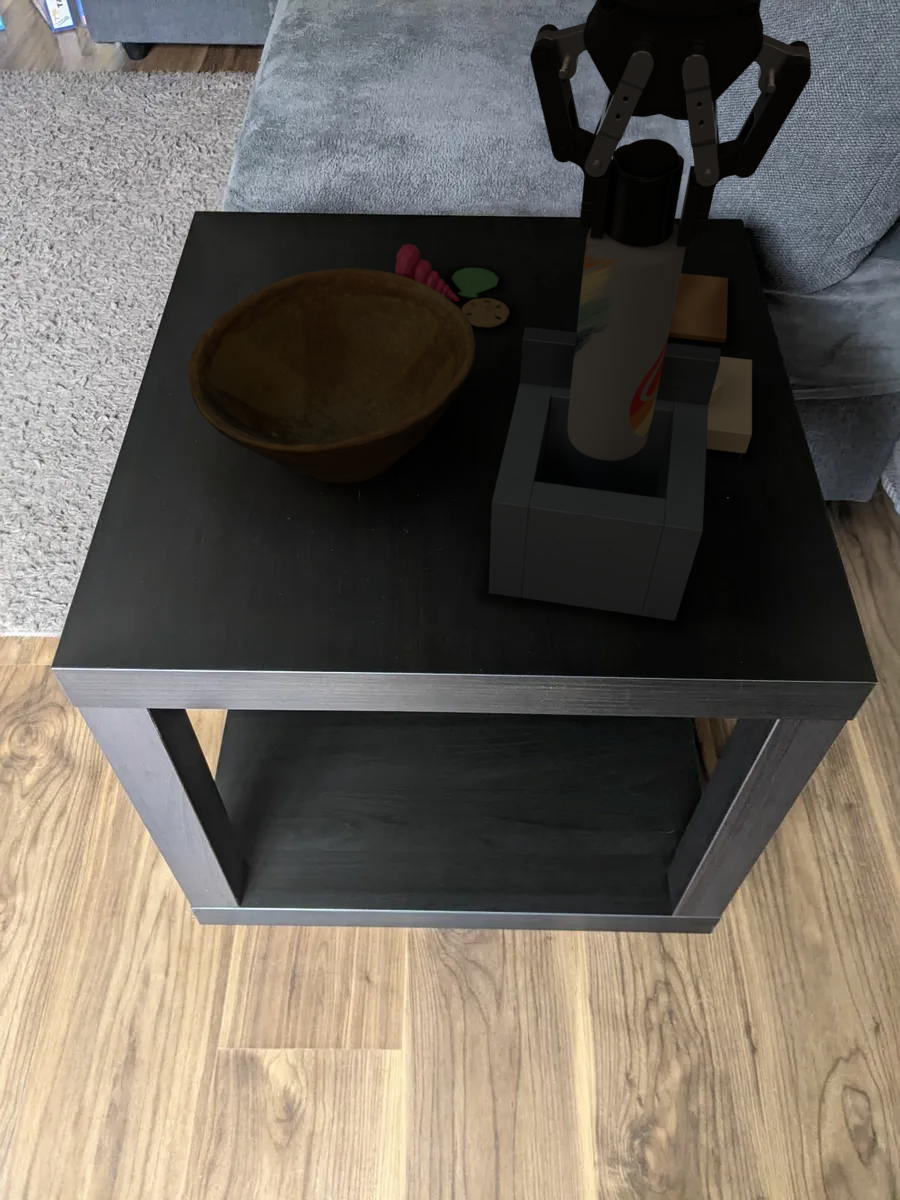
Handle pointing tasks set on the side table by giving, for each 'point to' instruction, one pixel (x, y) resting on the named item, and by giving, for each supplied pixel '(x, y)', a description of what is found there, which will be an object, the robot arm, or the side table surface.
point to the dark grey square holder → (601, 491)
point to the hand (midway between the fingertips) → (641, 234)
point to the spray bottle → (627, 303)
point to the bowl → (333, 370)
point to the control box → (731, 406)
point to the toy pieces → (464, 279)
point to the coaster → (700, 308)
